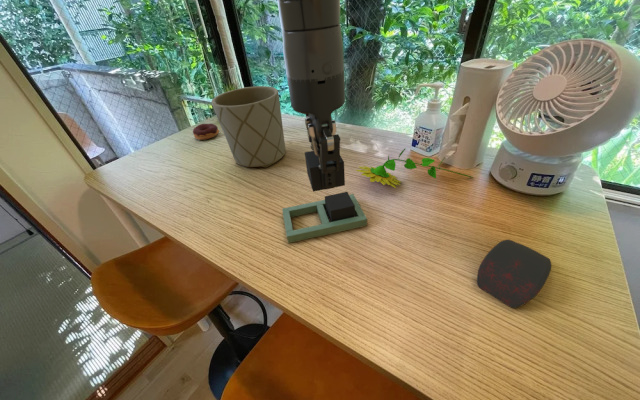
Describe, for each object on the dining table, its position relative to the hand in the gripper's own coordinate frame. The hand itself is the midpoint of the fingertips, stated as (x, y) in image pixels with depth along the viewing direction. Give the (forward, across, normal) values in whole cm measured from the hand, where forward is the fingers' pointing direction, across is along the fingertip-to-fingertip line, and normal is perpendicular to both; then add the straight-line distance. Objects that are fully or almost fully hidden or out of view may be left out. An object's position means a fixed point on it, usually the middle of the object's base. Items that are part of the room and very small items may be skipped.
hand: (324, 177), depth 43 cm
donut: (+16, -70, -35) cm, 80 cm away
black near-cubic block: (+16, -7, +4) cm, 18 cm away
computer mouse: (+16, +16, +28) cm, 36 cm away
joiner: (+16, -6, 0) cm, 17 cm away
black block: (0, 0, 0) cm, 0 cm away
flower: (+16, -16, +25) cm, 34 cm away
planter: (+16, -43, -14) cm, 48 cm away
